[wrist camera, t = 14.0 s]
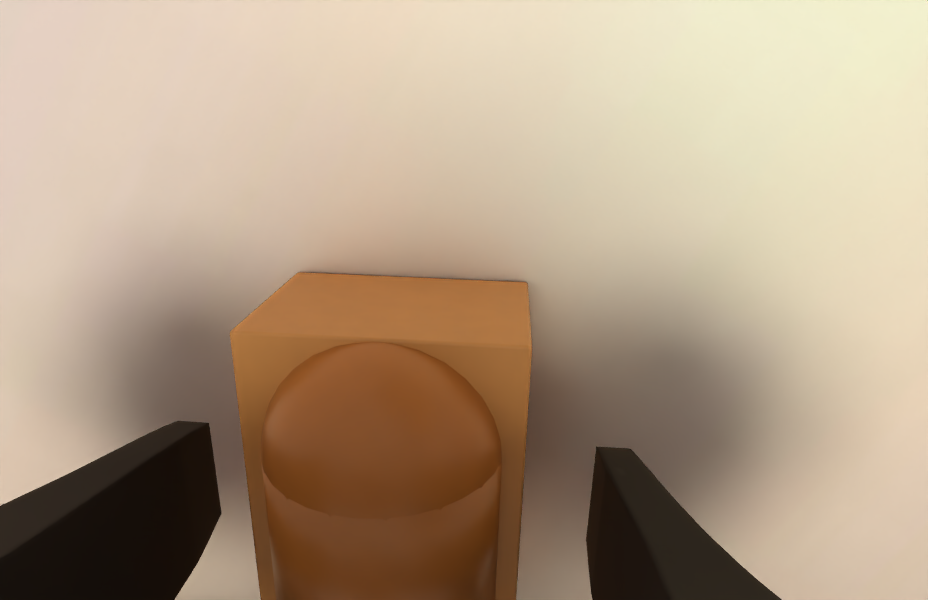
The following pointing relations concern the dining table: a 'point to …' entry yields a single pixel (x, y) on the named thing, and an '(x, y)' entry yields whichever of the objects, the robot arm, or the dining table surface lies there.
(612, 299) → the dining table surface
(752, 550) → the dining table surface
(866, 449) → the dining table surface
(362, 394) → the capsule-topped tan block
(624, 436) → the dining table surface
